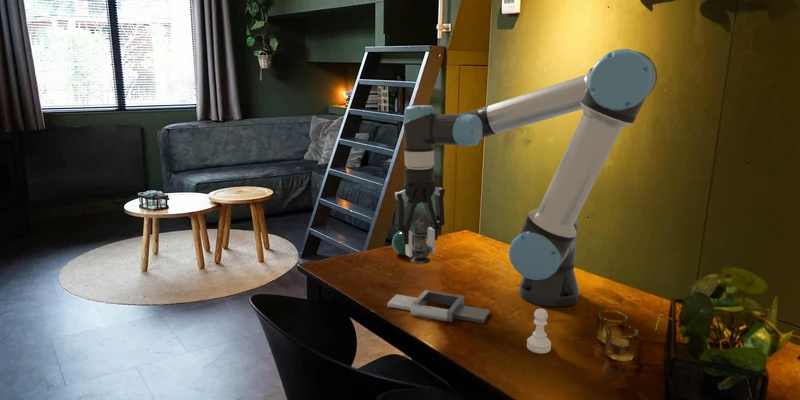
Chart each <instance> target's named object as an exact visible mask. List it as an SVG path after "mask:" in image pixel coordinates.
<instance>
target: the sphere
mask: <svg viewBox="0 0 800 400" xmlns="http://www.w3.org/2000/svg"><path fill="white" fill-rule="evenodd" d="M413 233H414V232H412V245H414V235H413ZM391 246H392V248H393V251H395V252H396V253H397V254H399V255H401V256H407V255H406V250H405V244H404V243H403V242H402V231H399V230H398V231H397V232H396V233H395V234H394V235H393V236H392V241H391Z"/></svg>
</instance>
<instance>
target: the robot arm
mask: <svg viewBox="0 0 800 400" xmlns="http://www.w3.org/2000/svg"><path fill="white" fill-rule="evenodd" d="M657 71H658V70H657V68H656V65H655V63H654V61H653V60H652V59H651V58H650V57H649V56H648V55H646V54H645V53H642V52H639V51H637V50H633V49H629V48H621V49H620V48H619V49H615V50H612V51H610V52H608V53H606V54H604V55H603V56H602V57H601V58H599V59H598V61H596V63H595V64H594V66H592V68H589V69H588V71H587V73H586V74H583V75H580V76H577V77H574V78H571V79H568V80H566V81H562V82H558V83H556V84H553V85H550V86H549V85H548V86H546V87H543V88H540V89H537V90H534V91H531V92H528V93H523V94H521V95H518V96H515V97H512V98H508V99H505V100H503V101H499V102H497V103H493V104H490V105H486V106H483V107H480V108H477V109H473V110H470V111H465V112H460V113H454V114H453V113H445V114H443V113H442V114H440V113H435V109H434V108H435V107H434V106H432V105H428V104H427V105H426V104H424V105H423V104H422V105H421V104H420V105H419V104H418V105H407V106H406V107H405V109H404V111H403V125H402V126H403V130H404V131H403V132H404V133H403V135H404V136H403V139H404V153H403V154H404V166H405V168H404V184H405V185H404V187H403V189H402V190H401V191H394V192H393V197H394V200H395V210H394V211H395V215H394V229H396V230H397V231H398V232H399V231H402V242H403V243H404V244H405V250H406V255H405V256H407V257H409V258H411V257H412V258H413V255H412V233H413V232H412V231H410V230H411V225H412V223H413V219H414V214H415V210H416V208H417V206H418V204H421V203H422V204H423V206H424V208H425V212H426V215H427V218H428V222H429V225H430V226H428V227H427V245H429V246H431V250H430V253H429V254H432V255H434V254H436V241H438V238H439V237H438V232H439V229H440V227H441V226H445V224H446V223H445V222H446V221H445V208H444V196H445V192H446V189H445V188H442V187H440V186H439V187H436V186H435V183H434V182H435V168H434V167H433V166H435V145H443V146H445V145H446V146H448V145H449V146H460V147H468V146H469V147H473V146H475V147H476V146H478V144H479V143H480V141H481V140H482V139H484V138H486V137H491V136H494V135H497V134H500V133H503V132H507V131H511V130H515V129H517V128H518V129H519V128H522V127H525V126H528V125H533V124H535V123H539V122H542V121H546V120H549V119H553V118H556V117H559V116H562V115H567V114H570V113H573V112H577V111H581V110H582V115H581V118H580V119H579V122H578V124H577V127H576V128H575V130H574V132H573V134H572V137H571V139H570V140H569V143H568V145H567V147H566V149H565V150H564V151H565V152H564V154H563V155H562V158H561V160H560V162H559V164H558V166H557V168H556V170H555V172H554V174H553V177H552V179H551V181H550V183H549V186H548V187H547V189H546V191H545V193H544V196H543V198H542V200H541V202H540V204H539V206H538V207H537V208H535V209H532V210H530V211H529V213H527V216H526V218H525V220H524V221H523V222H524V223H523V225H522V227H521V229H520V230H519V233H518V234H517V235H516V236H515V237H514V238H513V239H512V241H511V243H510V246H509V250H508V256H509V260H510V263H511V265H512V267H513V268H514V270H515V271H517V273H518V274H519V275H521V276H522V278H521V281H520V283H519V288H518V289H519V291H518V293H519V296H520V297H521V298H522V299H524V300H525V301H527V302H529V303H531V304H534V305H539V306H544V307H550V308H552V307H553V308H557V307H558V308H559V307H567V306H568V307H570V306H572V305H574V304H577V302H578V301H579V298H580V289H579V285H578V281H577V276H576V274H575V259H576V250H577V236H578V227H579V224H578V223H579V221H578V220H579V217H578V216H579V215H580V212H581V211H582V208H583V207H584V205H585V202H586V201H587V199H588V197H589V195H590V193H591V191H592V189H593V187H594V185H595V183H596V182H597V179H598V177H599V176H600V173H601V171H602V169H603V168H604V165H605V164H606V161H607V159H608V157H609V155H610V153H611V151H612V149H613V147H614V145H615V144H616V142H617V140H618V137H619V136H620V134H621V132H622V130H623V129H624V128H626V127H630V126H632V125H633V124H634V122H635V121H636V119H637V117H638V115H639V113H640V111H641V110H642V107H643V106H644V104H645V101H646V99H647V98H648V97H649V96H650V95H651V94H652V92H653V91H654V89H655V87H656V84H657V82H658V81H657V80H658V72H657ZM433 194H434V201H435V203H434V205H435V209H434V206H433V200H432V196H433ZM405 196H406V197H407V202H406V204H407V206H406V209H405V203H404V201H405ZM404 209H405V210H404ZM404 211H405V213H404Z"/></svg>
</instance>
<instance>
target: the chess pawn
mask: <svg viewBox="0 0 800 400" xmlns="http://www.w3.org/2000/svg"><path fill="white" fill-rule="evenodd" d="M548 313H549V312H548V311H547V310H546V309H544V308H542V307H541V308H537V309H535V310H534V312H533V316H534V320H533V324H535V325H536V327H535V330H534V331H532V335H530V336H529V337H528V338H527V339H526V342H527V343H526V348H527V349H528V350H529V351H530V352H532V353H533V354H534V353H535V354H547V353H549V352H551V350H552V347H551V346H552V341H551V340H550V339H549V338H548V337H547V336H548V334H547V333H546V332H545V326H547V325H548V321H547V319H548V318H549V314H548Z"/></svg>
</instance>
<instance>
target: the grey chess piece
mask: <svg viewBox="0 0 800 400" xmlns="http://www.w3.org/2000/svg"><path fill="white" fill-rule="evenodd" d="M426 227H427V226H426V221H424V219H422V217H421V216H419V217H418V219H417V220H415V221H414V232H412V233H413V235H414V245H412V258H410V262H411V264H415V265H416V264H417V265H423V264H428V263H431V259H430V258H429V257H428V256H429V255H430V254H431V253H430V250H431V246H429V245H428V242H427V236H428V232H427V231H426V230H427V229H426Z"/></svg>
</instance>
